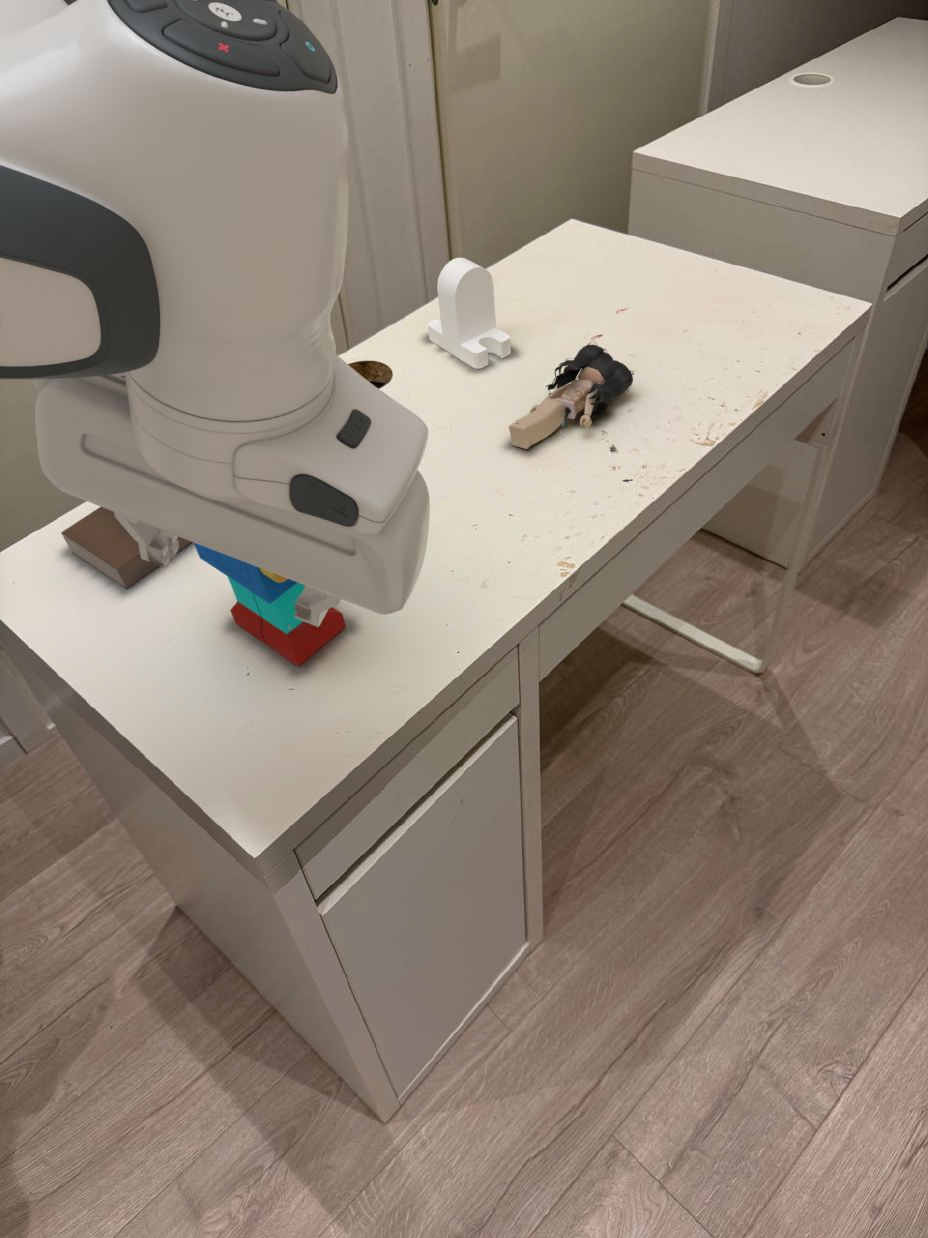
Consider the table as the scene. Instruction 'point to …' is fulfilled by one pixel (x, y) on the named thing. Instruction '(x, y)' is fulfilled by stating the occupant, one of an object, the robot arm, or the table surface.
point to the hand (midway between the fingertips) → (236, 584)
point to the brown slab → (110, 547)
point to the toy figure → (574, 395)
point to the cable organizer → (467, 314)
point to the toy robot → (272, 608)
